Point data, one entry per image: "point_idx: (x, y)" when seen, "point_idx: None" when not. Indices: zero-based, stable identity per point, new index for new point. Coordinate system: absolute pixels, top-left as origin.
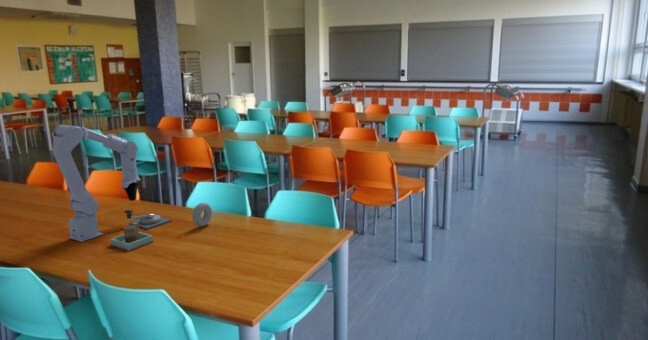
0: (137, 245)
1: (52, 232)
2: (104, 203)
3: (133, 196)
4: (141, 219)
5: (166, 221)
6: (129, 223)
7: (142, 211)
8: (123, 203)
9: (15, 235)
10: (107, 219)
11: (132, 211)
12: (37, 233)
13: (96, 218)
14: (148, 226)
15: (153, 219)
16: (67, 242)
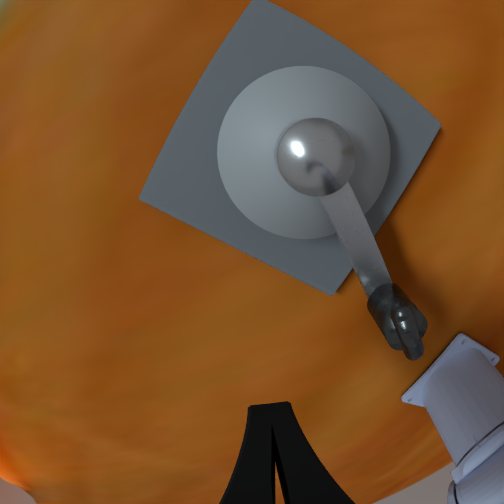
0: None
1: (370, 470)
2: (54, 461)
3: (304, 446)
4: None
5: (301, 19)
6: (331, 292)
7: (58, 319)
8: (20, 418)
9: (369, 499)
10: (228, 423)
11: (409, 305)
12: (368, 485)
13: (489, 403)
14: (418, 126)
15: (360, 105)
16: None
